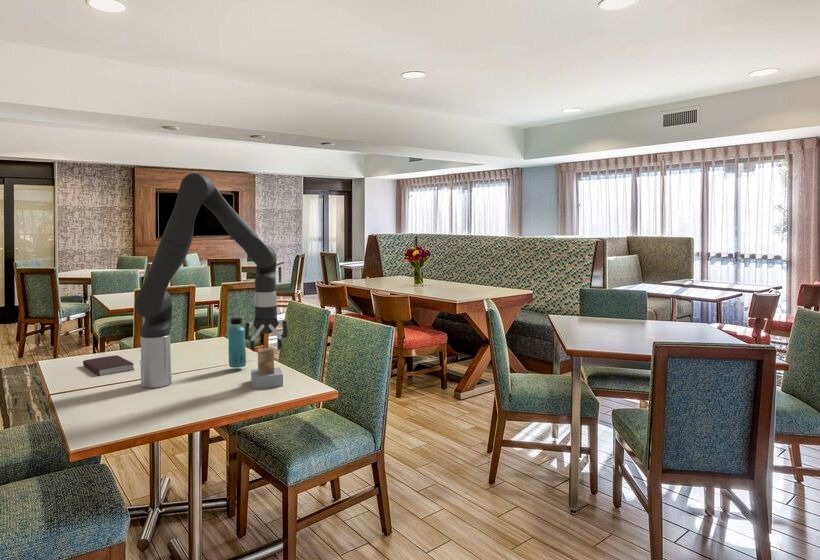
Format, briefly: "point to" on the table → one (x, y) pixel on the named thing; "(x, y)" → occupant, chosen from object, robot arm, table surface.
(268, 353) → the walnut block
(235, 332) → the beverage bottle
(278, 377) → the base plinth
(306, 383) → the table surface
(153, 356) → the robot arm
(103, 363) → the book
